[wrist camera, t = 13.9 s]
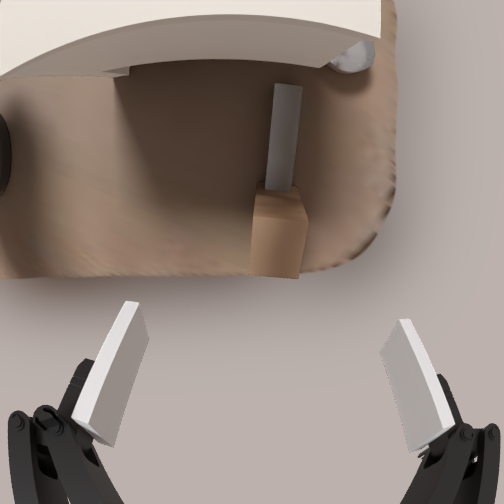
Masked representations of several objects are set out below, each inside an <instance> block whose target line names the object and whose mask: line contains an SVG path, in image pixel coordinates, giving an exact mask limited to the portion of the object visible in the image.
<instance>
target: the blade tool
mask: <svg viewBox="0 0 504 504" xmlns="http://www.w3.org/2000/svg"><path fill="white" fill-rule="evenodd" d="M302 92H303V86H296V85H288V84H280V83H275V85H274V94H273V105H272V116H271V126H270V137H269V147H268V158H267V168H266V178H265V183H262V182H257V188H256V196H255V205H254V213H253V224H252V236H251V247H250V259H249V271H248V275H256V276H268V277H280V278H291V279H298V277H299V272H300V267H301V262H302V257H303V252H304V247H305V242H306V237H307V231H308V226H309V220H308V217H307V214H306V211H305V208H304V206H303V203H302V200H301V197H300V194H299V192H298V189H297V186H292V179H293V171H294V163H295V155H296V147H297V138H298V129H299V120H300V111H301V102H302Z"/></svg>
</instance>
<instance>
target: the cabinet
mask: <svg viewBox="0 0 504 504" xmlns="http://www.w3.org/2000/svg"><path fill="white" fill-rule="evenodd" d="M380 27H381V0H2V1H1V4H0V80H3V79H11V78H21V77H34V76H97V77H111V78H114V77H120V76H126V75H129V68H130V66H134V65H140V64H148V63H156V62H165V61H177V60H195V59H241V60H259V61H271V62H280V63H289V64H296V65H303V66H309V67H315V68H321V67H322V66H324V65H325V64H327V63H328V62H330V61H331V60H333V59H334V58H335V57H337V56H339V55H340V54H342V53H343V52H345V51H346V50H348V49H349V48H351V47H352V46H354V45H356V44H357V43H359V42H361V41H362V40H367V41H370V42H374V41H376V40H378V39H380Z"/></svg>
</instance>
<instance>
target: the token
mask: <svg viewBox="0 0 504 504" xmlns="http://www.w3.org/2000/svg"><path fill="white" fill-rule="evenodd" d="M374 58H375V47H374V44H373V42H370V41H367V40H362V41H361V42H359V43H357V44H356V45H354V46H352V47H351V48H349V49H348V50H346V51H345V52H343V53H342V54H340V55H339V56H337V57H335V58H334V59H333V60H331V61H330V62H328V63H327V64H326V65H327V66H328V67H329V68H331V69H332V70H334V71H336V72H339V73H344V74H351V73H355V72H359V71H362V70H365V69H367V68H368V67H369V66H370V65H371V64H372V63H373V61H374Z"/></svg>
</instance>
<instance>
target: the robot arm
mask: <svg viewBox="0 0 504 504" xmlns="http://www.w3.org/2000/svg"><path fill="white" fill-rule="evenodd" d="M10 168H11V147H10V139H9V134H8V130H7V127H6V124H5V121H4V119H3V117H2V116H1V114H0V195H1V194H2V193H3V191H4V190H5V188H6V186H7V183H8V180H9V175H10ZM148 342H149V337H148V334H147V330H146V326H145V323H144V319H143V315H142V311H141V306H140V303H137V302H131V301H126V302H125V303H124V305H123V307H122V309H121V311H120V313H119V315H118V316H117V318H116V320H115V322H114V324H113V326H112V328H111V330H110V332H109V334H108V336H107V338H106V340H105V342H104V344H103V346H102V348H101V350H100V352H99V354H98V356H97V358H96V360H95V361H93V360H89V359H86V358H85V359H84V361H82V362H81V363H80V364H79V365H78V367H77V369H76V371H75V373H74V375H73V377H72V379H71V381H70V384H69V385H68V388H67V390H66V392H65V394H64V397H63V399H62V401H61V404H60V406H59V408H58V410H56V409H55V408H53V407H52V406H49V405H42V406H40V407H38V408H37V409H36V411H35V412H34V415H33V417H28V416H27V415H26V414H25V413H24V412H22V411H15V412H13V413H12V414H11V415H10V417H9V420H8V450H9V465H10V475H11V483H12V488H13V495H14V500H15V504H69V502H68V499H69V501H70V503H71V504H124V503H123V501H122V500H121V498H120V496H119V495H118V493H117V491H116V489H115V488H114V486H113V484H112V482H111V480H110V479H109V477H108V475H107V473H106V471H105V469H104V467H103V465H102V463H101V461H100V459H99V457H98V455H97V452H96V450H95V448H94V446H93V444H92V442H93V439H95V440H96V441H97V442H99V443H101V444H104V445H107V446H110V447H114V445H115V441H116V438H117V434H118V431H119V427H120V424H121V421H122V417H123V414H124V411H125V408H126V405H127V401H128V398H129V395H130V392H131V389H132V386H133V383H134V381H135V378H136V375H137V372H138V369H139V366H140V363H141V361H142V358H143V355H144V352H145V350H146V347H147V344H148ZM380 355H381V358H382V361H383V363H384V367H385V369H386V372H387V376H388V379H389V382H390V385H391V388H392V391H393V394H394V398H395V400H396V404H397V408H398V411H399V415H400V418H401V422H402V426H403V429H404V433H405V437H406V441H407V445H408V450H409V452H413V451H416V450H419V449H422V448H423V447H425V446H426V445H429V448H428V449H426V450H425V451H423V452H422V453H420V454H419V456H418V458H420V457H421V456H423V455H424V457H422V459H423V460H422V462H421V464H420V466H419V468H418V471H417V473H416V475H415V477H414V479H413V481H412V483H411V485H410V487H409V489H408V490H407V492H406V494H405V496H404V498H403V500H402V501H401V503H400V504H494V502H495V497H496V491H497V483H498V475H499V462H500V430H499V428H498V426H497V425H496V424H493V423H492V424H489V425H488V426H486V427H485V428H484V429H473V428H472V426H470V425H469V424H466V423H463V421H462V418H461V416H460V413H459V411H458V408H457V405H456V403H455V401H454V398H453V395H452V392H451V391H450V388H449V385H448V383H447V381H446V379H445V378H444V377H443V376H442V375H441V374H438V375H436V373H435V371H434V369H433V366H432V364H431V362H430V359H429V357H428V355H427V353H426V351H425V349H424V346H423V344H422V342H421V340H420V338H419V336H418V334H417V332H416V330H415V328H414V326H413V324H412V322H411V320H410V319H399V320H398V322H397V323H396V325H395V327H394V329H393V331H392V332H391V334H390V336H389V338H388V340H387V341H386V343H385V345H384V346H383V348H382V349H381V351H380ZM477 456H478V457H477ZM476 457H477V462H474V458H476ZM67 497H68V498H67Z"/></svg>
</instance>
